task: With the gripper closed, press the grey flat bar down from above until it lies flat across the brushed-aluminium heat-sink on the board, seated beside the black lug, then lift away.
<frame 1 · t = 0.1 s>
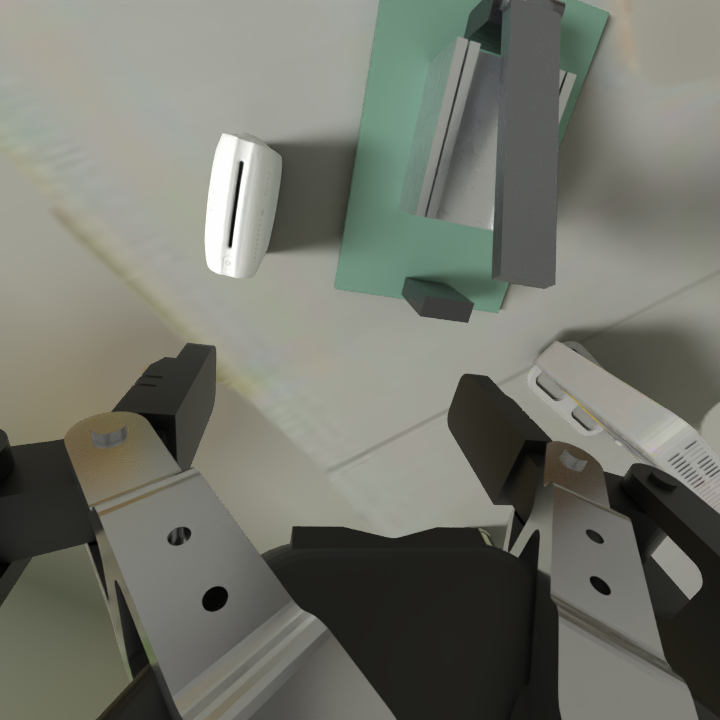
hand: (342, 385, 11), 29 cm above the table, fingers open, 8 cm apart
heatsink: (455, 155, 35), resting on mainboard
grey flat bar: (527, 132, 24), point 12 cm above the table, hinge at 32.0°
network device: (578, 390, 52), on the table
mainboard: (452, 166, 36), on the table
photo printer: (255, 203, 35), on the table
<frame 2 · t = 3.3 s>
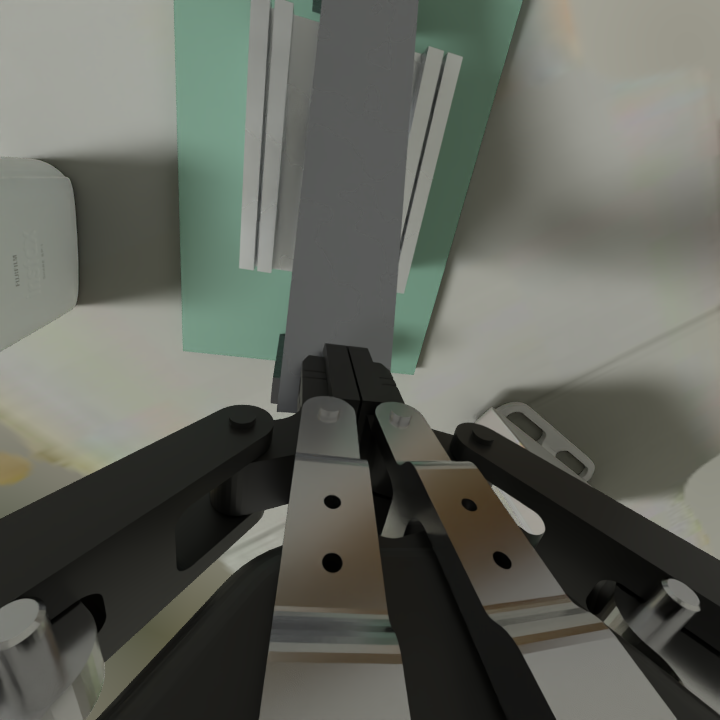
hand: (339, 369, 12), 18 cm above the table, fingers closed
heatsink: (331, 173, 25), resting on mainboard
grey flat bar: (356, 151, 14), point 12 cm above the table, hinge at 32.0°, touching gripper
network device: (530, 456, 42), on the table
mainboard: (329, 188, 26), on the table
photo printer: (50, 239, 25), on the table
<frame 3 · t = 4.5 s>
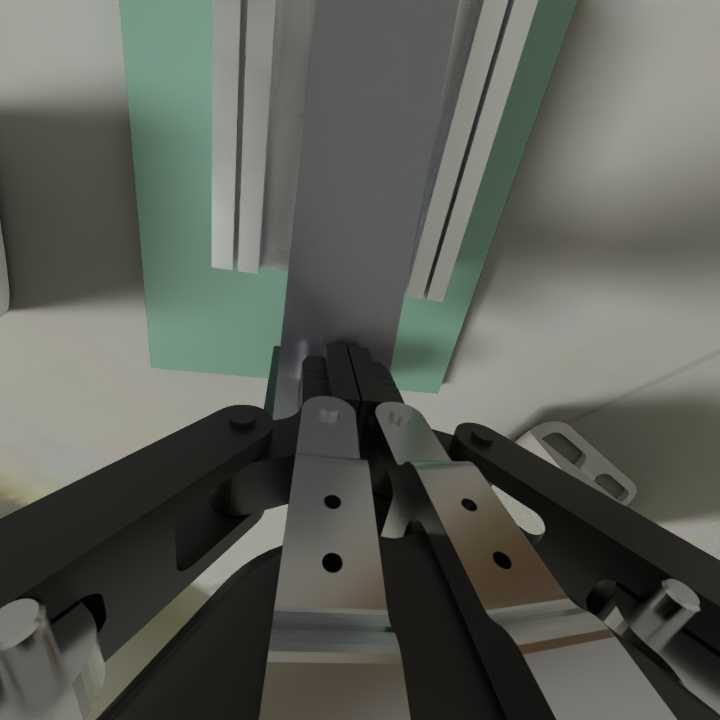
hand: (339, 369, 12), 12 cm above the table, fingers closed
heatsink: (341, 136, 19), resting on mainboard
grey flat bar: (367, 139, 11), point 9 cm above the table, hinge at 13.1°, touching gripper
network device: (564, 479, 37), on the table
mainboard: (338, 157, 19), on the table
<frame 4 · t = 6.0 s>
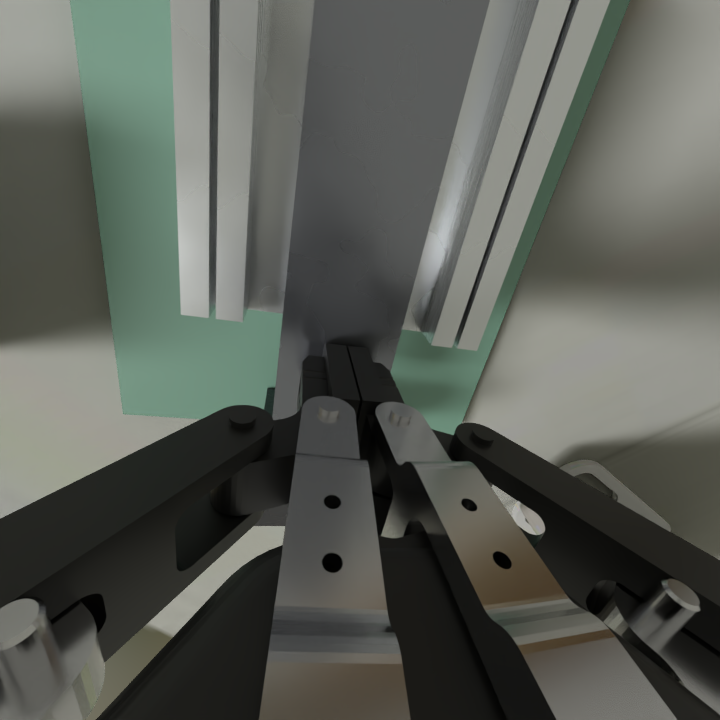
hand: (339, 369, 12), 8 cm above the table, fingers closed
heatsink: (348, 144, 16), resting on mainboard
grey flat bar: (371, 163, 10), point 7 cm above the table, hinge at -0.1°, touching gripper
network device: (592, 519, 33), on the table
mainboard: (344, 168, 16), on the table
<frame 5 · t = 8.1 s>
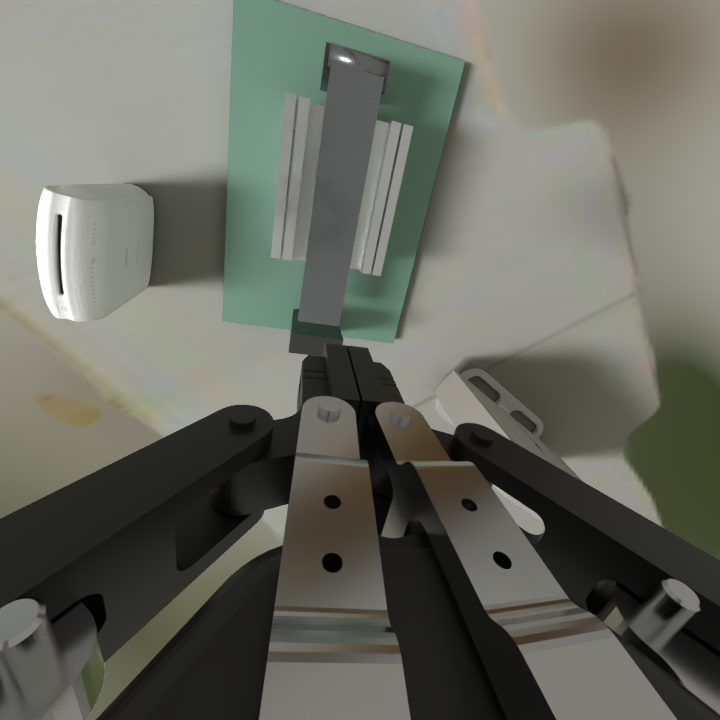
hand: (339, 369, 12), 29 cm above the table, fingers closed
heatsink: (332, 193, 36), resting on mainboard
grey flat bar: (336, 206, 30), point 7 cm above the table, hinge at -0.1°
network device: (490, 415, 52), on the table
mainboard: (330, 203, 37), on the table
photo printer: (133, 239, 36), on the table
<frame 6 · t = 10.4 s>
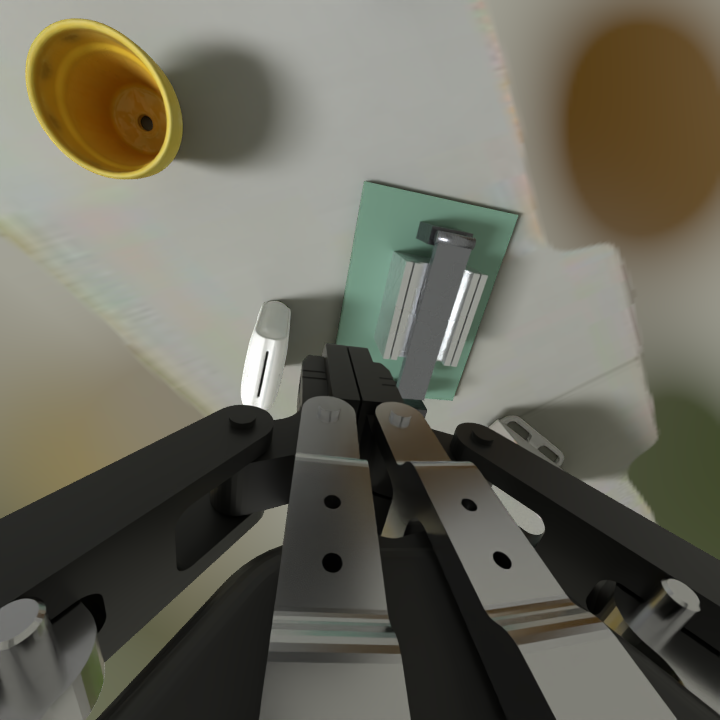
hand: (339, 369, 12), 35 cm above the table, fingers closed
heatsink: (415, 299, 49), resting on mainboard
grey flat bar: (430, 324, 43), point 7 cm above the table, hinge at -0.1°
network device: (521, 449, 66), on the table
mainboard: (413, 306, 49), on the table
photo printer: (271, 335, 49), on the table
plant pot: (149, 123, 36), on the table
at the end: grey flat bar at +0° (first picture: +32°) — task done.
